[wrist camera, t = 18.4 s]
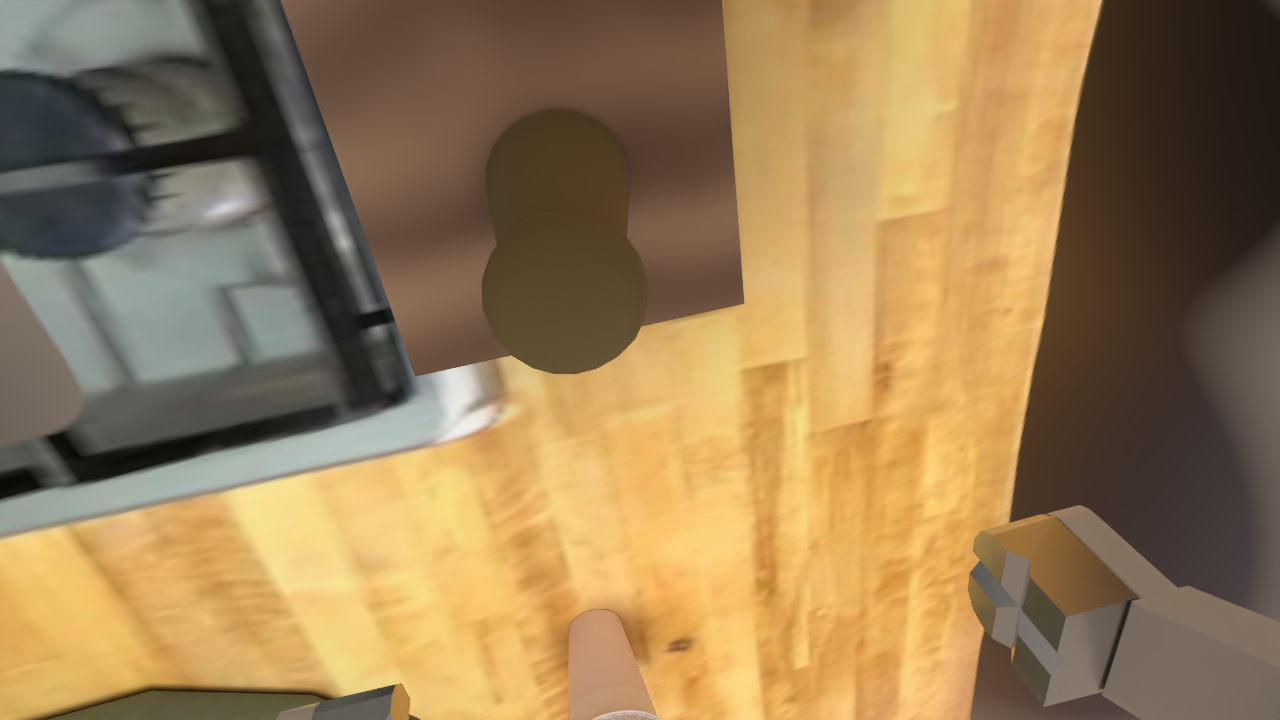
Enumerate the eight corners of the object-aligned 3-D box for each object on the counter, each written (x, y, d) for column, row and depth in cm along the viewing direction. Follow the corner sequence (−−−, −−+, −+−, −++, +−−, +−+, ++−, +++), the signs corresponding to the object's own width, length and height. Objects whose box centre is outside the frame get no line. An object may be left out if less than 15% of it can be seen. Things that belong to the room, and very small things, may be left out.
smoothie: (561, 592, 48) (590, 802, 37) (651, 597, 50) (706, 798, 38) (540, 658, 51) (560, 874, 39) (626, 661, 53) (670, 867, 41)
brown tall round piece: (471, 118, 28) (441, 242, 19) (625, 103, 29) (664, 217, 20) (498, 256, 32) (484, 415, 23) (635, 241, 32) (673, 392, 23)
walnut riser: (307, -11, 30) (279, -4, 26) (682, -73, 31) (715, -76, 27) (421, 328, 38) (415, 376, 34) (715, 265, 40) (744, 303, 35)
